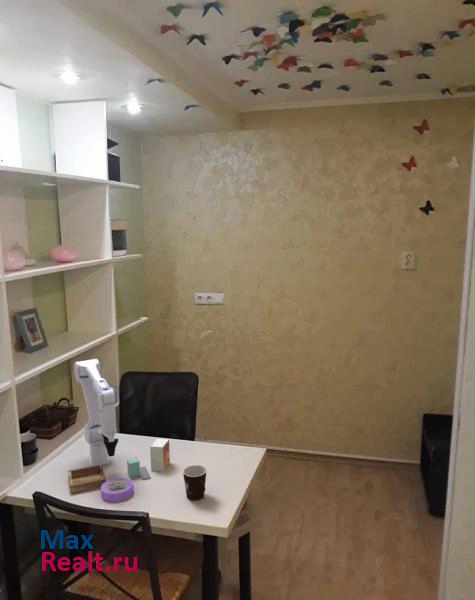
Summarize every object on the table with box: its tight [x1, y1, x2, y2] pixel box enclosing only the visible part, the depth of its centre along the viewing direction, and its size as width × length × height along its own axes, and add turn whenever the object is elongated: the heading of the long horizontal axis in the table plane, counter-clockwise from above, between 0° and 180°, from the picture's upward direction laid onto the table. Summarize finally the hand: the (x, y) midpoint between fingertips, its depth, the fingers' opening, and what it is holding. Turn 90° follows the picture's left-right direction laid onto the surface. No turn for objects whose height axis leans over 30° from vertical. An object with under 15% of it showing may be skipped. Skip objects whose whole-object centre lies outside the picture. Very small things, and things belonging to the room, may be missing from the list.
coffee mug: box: [182, 464, 207, 502], centre depth 174 cm, size 12×9×10 cm
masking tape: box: [100, 477, 134, 503], centre depth 178 cm, size 12×12×4 cm
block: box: [126, 457, 141, 479], centre depth 192 cm, size 4×4×6 cm
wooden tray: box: [67, 464, 107, 495], centre depth 187 cm, size 13×13×4 cm
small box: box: [149, 438, 171, 472], centre depth 199 cm, size 8×6×10 cm
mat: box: [139, 466, 151, 481], centre depth 192 cm, size 10×10×1 cm
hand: (110, 451), depth 191 cm, fingers open, 7 cm apart
